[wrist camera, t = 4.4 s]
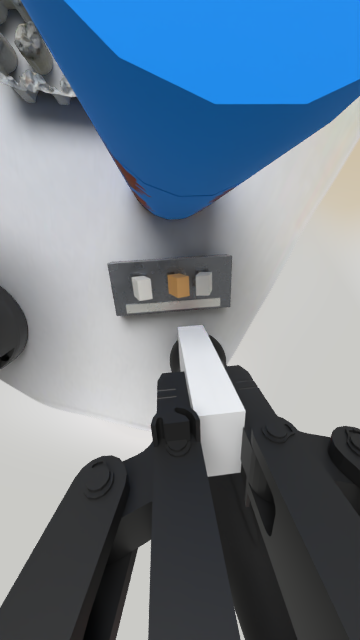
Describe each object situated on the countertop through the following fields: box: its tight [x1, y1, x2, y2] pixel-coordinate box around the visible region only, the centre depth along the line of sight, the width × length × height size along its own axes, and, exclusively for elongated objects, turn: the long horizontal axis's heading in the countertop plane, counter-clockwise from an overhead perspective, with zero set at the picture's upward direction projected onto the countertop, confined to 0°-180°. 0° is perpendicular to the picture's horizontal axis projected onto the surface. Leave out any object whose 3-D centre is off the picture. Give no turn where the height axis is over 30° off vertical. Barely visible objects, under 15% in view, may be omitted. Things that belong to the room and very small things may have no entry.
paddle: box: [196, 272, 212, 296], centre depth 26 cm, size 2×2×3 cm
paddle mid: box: [167, 273, 190, 298], centre depth 26 cm, size 2×2×3 cm
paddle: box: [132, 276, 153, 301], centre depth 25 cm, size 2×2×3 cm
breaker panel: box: [108, 255, 232, 316], centre depth 29 cm, size 16×7×3 cm, turn 93°
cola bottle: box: [170, 335, 297, 640], centre depth 21 cm, size 8×8×30 cm
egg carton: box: [0, 0, 77, 105], centre depth 19 cm, size 11×8×4 cm
